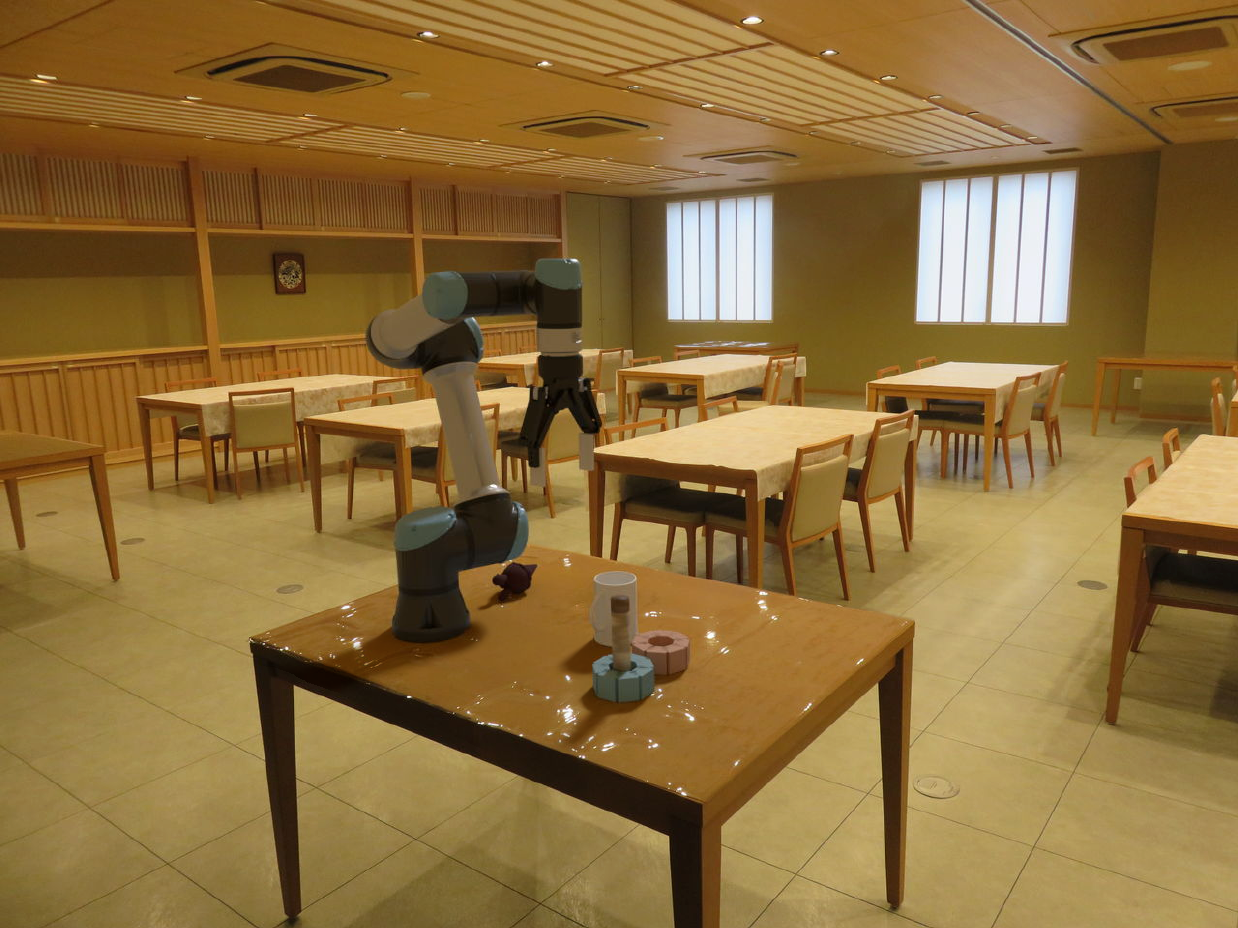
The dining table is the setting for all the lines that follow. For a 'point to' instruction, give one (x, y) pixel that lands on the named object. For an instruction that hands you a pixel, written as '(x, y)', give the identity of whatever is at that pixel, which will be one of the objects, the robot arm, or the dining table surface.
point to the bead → (623, 679)
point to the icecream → (514, 579)
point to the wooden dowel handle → (621, 633)
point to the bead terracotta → (663, 650)
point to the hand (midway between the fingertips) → (563, 477)
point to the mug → (603, 591)
